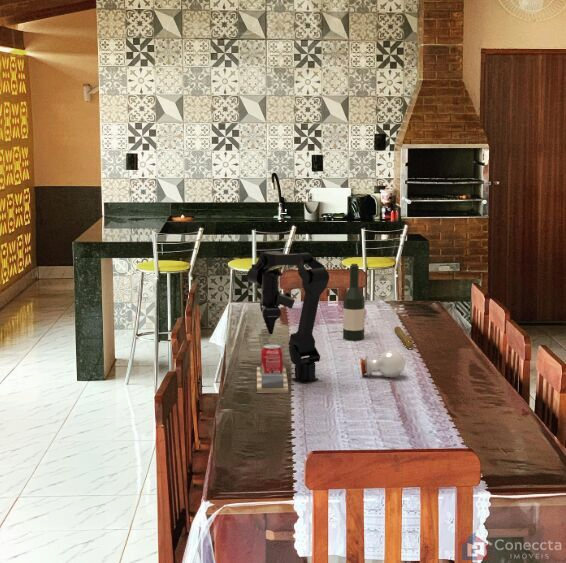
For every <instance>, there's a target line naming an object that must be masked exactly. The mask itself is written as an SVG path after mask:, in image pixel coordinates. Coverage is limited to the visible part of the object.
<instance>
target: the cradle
mask: <svg viewBox="0 0 566 563" xmlns="http://www.w3.org/2000/svg"><path fill="white" fill-rule="evenodd" d="M257 393H279V394H289V384H288V376H287V368H286V366H283V374H262V376H261V364H260V365H259V366H256V394H257Z"/></svg>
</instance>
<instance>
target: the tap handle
mask: <svg viewBox="0 0 566 563" xmlns="http://www.w3.org/2000/svg"><path fill="white" fill-rule="evenodd" d="M393 331H394V333H395V332H396V333H395V334H396V336H398V338H399V339H400V343H401V342H402V343H403V345H404V346H406V348H405V349H407V348H412V349H413V347H414V343H413V339H412V337H411V336H410V335H406V334H405V332H404V331H403V329H402V327H401V326H398V325H397V326H395V328H394V330H393ZM408 341H409V342H408ZM402 343H401V344H402ZM403 345H402V346H403ZM404 346H403V347H404Z"/></svg>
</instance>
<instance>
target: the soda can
mask: <svg viewBox="0 0 566 563" xmlns="http://www.w3.org/2000/svg"><path fill="white" fill-rule="evenodd" d="M283 353H284V352H283V349H282V348H281V345H280V344H278V343H277V344H276V343H267V344H264V345H263V347H262V349H261V353H260V355H261V356H260V358H261V360H260V363H261V364H260V365H261V376H262V374H283V367H284V361H283V360H284V357H283V356H284V355H283Z"/></svg>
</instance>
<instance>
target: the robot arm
mask: <svg viewBox="0 0 566 563" xmlns="http://www.w3.org/2000/svg"><path fill="white" fill-rule="evenodd" d="M284 266H297V274H298V275H299V277H300V279H301V280H302V283H301V285H302V288H303V290H304V296H303V301H302V307H301V313H300V317H299V322H298V328H297V331H295V332H293V333H291V334H290V335H289V341H288V353H289V357H290V361H291V363H292V364H293V365H294V377H293V378H292V381H294V382H295V381H296V382H299V383H304V384H309V383H311V382H316V381H318V380H319V378H318V377H316V363H317V362H320V360H321V354H320V353H319V351H318V349H317V348H316V340H315V337H314V335H313V332H314V326H315V322H316V316H317V312H318V308H319V301H320V298H321V295H322V294H323V293H324V291H325V290H326V289H327V287H328V284H329V281H330V274H329V272H328V270H327V268H325V266H324V265H323V263H321V262H320V261H318V259H315V258H314V257H313V255H312V254H311V253H309V252H302V253H301V252H300V253H284V252H282V251H279V250H272V251H264V252H260V255H259V257H258V260H257V261H256V263H253V264H251V267H250V268H249V269H248V270H247V273H246V279H247V281H248V282H249V283H251V284H255V285H259V286H261V298H260V300H259V307H260V312H261V314H262V318H263V321H264V323H265V326H266V328H267V329H266V330H267V331H268V334H269V335H273V333H274V329H275V325H276V323H277V322H276V321H277V320H278V319H280V317H282V310H281V308H280V306H283V307H287V308H288V309H290V310H291V309H293V306H294V304H295V302H296V301H295V300H296V299H295V298H294V297H292V296H291V293H290V292H287V291H286V292H284V293H281V292H280V290H279V277H282V276H283V273H282V271H280V269H279V268H280V267H284ZM305 266H308V267H309V269H306V268H305Z"/></svg>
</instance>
